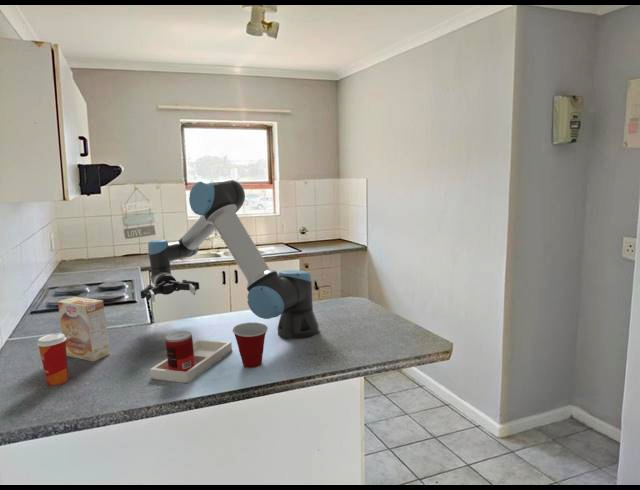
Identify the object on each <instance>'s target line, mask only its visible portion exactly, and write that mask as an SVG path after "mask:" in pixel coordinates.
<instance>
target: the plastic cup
mask: <svg viewBox="0 0 640 490" xmlns="http://www.w3.org/2000/svg"><path fill="white" fill-rule="evenodd" d="M268 329H269V328H268V326H267V325H266V324H264V323H259V322H244V323H240V324H237V325H235V326H233V328H232V332H233V333H234V337H235V340H236V344H237V348H238V352H239V356H240V358H241V363H242V364H243V366H244V367H245V368H249V369H250V368H251V369H253V368H257V367H259V366H261V365H262V363H263V355H264V347H265V338H266V334H267V332H268Z"/></svg>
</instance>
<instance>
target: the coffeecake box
mask: <svg viewBox="0 0 640 490" xmlns="http://www.w3.org/2000/svg"><path fill="white" fill-rule="evenodd" d="M104 305H105V304H104V300H103V299H95V298H87V297H81V296H72V297H70V298H65V299H62V300H58V301H57V307H58V308H57V309H58V315H59V316H58V317H59V320H60V321H59V322H60V329H61V334H64V336H65V337H66V340H65V341H66V353H67V357H71V358H74V359H75V358H76V359H81V360H85V361H88V362H89V361H90V362H96V361H98V360H101V359H102V358H104V357H107V356H109V355H111V350H110V341H109V336H108V335H109V334H108V329H107V322H106V321H107V320H106V313H105V306H104Z"/></svg>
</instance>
